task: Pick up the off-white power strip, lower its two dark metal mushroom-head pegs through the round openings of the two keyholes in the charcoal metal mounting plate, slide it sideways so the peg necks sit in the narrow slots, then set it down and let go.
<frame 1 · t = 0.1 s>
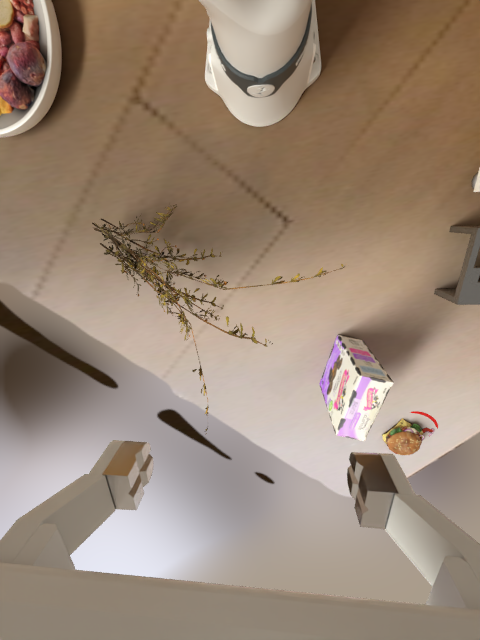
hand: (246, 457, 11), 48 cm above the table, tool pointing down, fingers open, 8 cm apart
dried plant: (205, 260, 56), on the table
hamburger: (407, 431, 68), on the table
candy box: (339, 362, 62), on the table
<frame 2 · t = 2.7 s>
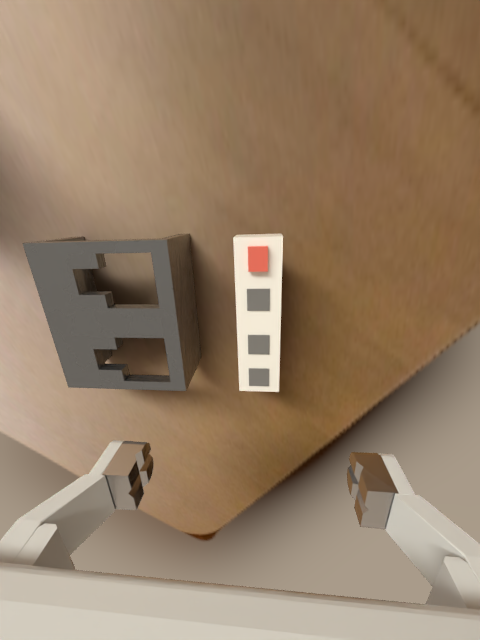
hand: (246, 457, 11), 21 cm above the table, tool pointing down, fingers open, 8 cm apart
keyhole plate: (142, 301, 32), on the table
power strip: (260, 300, 31), on the table
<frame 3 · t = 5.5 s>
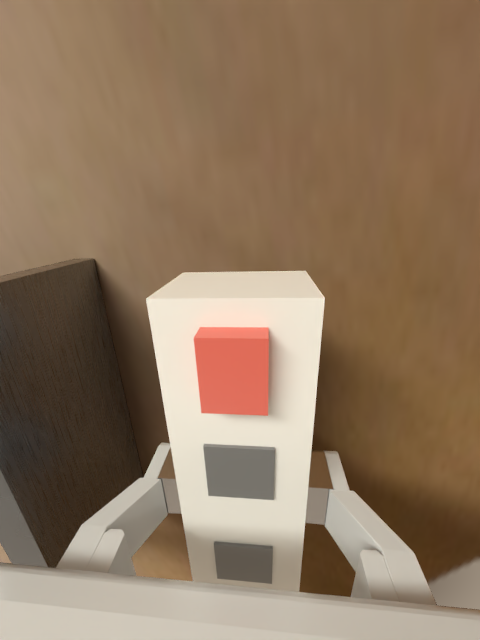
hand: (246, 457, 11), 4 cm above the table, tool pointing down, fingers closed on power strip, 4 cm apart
keyhole plate: (21, 386, 16), on the table
power strip: (252, 392, 15), on the table, touching gripper
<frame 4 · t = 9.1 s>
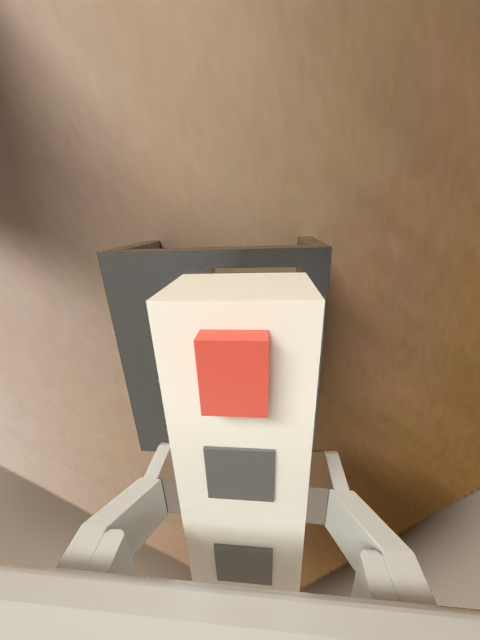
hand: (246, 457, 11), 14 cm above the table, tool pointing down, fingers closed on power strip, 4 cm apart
keyhole plate: (231, 326, 24), on the table
power strip: (251, 393, 15), point 9 cm above the table, touching gripper
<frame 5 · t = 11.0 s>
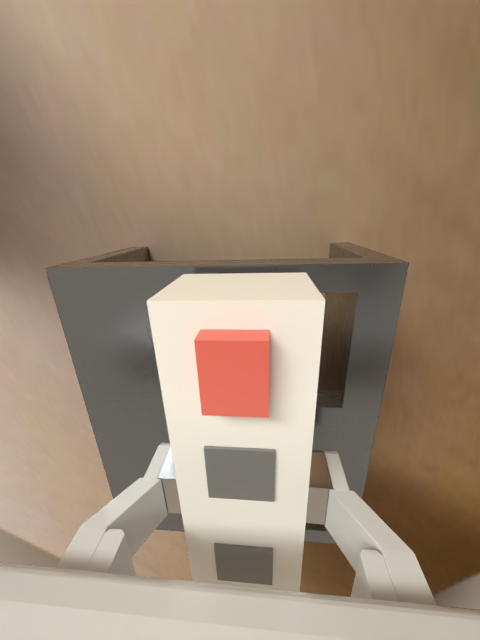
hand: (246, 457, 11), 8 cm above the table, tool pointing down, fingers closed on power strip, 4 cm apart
keyhole plate: (239, 355, 19), on the table
power strip: (252, 393, 15), point 4 cm above the table, touching gripper
when the fingers open (8 cm above the table, at t = 12.7 s): power strip stays where it is, resting on keyhole plate.
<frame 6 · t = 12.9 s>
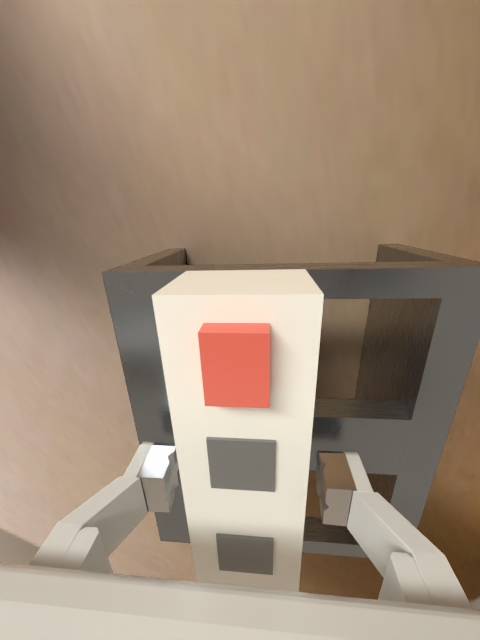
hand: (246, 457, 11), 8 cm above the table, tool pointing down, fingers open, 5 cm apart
keyhole plate: (276, 361, 18), on the table
power strip: (252, 390, 15), point 3 cm above the table, touching keyhole plate
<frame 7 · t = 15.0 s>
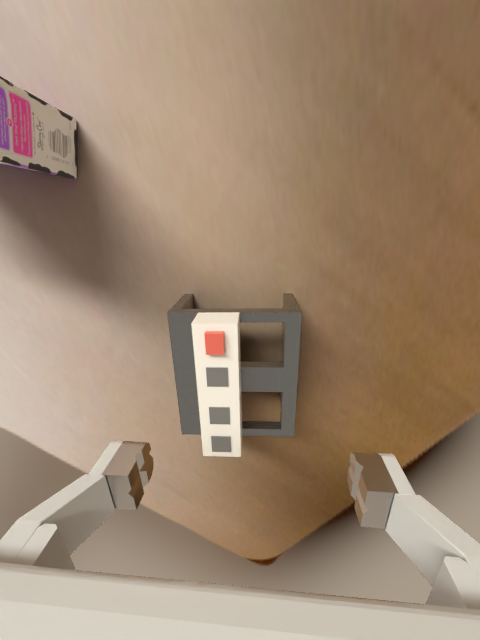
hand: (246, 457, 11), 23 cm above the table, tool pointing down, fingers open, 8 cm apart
keyhole plate: (239, 349, 35), on the table
power strip: (225, 362, 32), point 3 cm above the table, touching keyhole plate
candy box: (14, 136, 28), on the table
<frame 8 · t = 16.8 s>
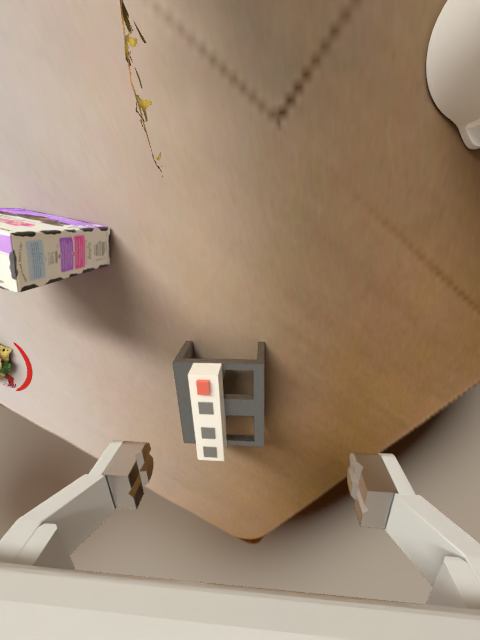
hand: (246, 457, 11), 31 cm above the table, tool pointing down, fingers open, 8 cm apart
keyhole plate: (227, 380, 47), on the table
power strip: (215, 391, 44), point 3 cm above the table, touching keyhole plate
candy box: (67, 237, 40), on the table
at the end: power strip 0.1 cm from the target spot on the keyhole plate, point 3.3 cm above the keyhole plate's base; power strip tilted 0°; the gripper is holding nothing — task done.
